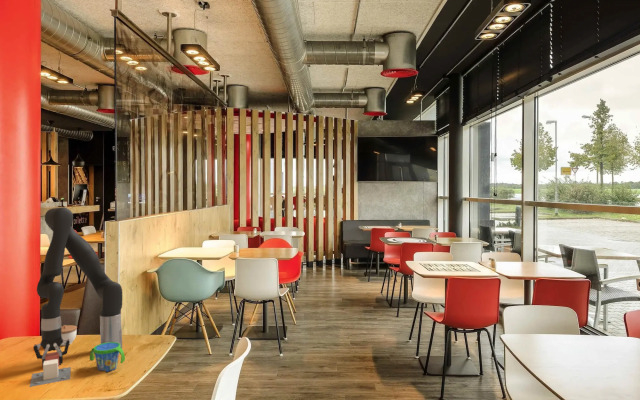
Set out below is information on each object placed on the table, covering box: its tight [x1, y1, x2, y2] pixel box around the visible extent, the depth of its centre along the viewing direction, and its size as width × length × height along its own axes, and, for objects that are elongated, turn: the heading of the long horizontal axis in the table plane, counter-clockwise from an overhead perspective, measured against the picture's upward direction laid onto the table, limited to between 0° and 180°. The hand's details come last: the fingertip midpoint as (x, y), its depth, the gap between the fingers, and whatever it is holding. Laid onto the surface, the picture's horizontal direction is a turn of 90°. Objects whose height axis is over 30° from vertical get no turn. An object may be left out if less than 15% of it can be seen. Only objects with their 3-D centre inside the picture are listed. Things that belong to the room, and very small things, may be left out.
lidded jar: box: [60, 324, 78, 347], centre depth 226 cm, size 11×11×9 cm
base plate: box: [29, 366, 72, 388], centre depth 185 cm, size 14×14×1 cm
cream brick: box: [42, 359, 59, 380], centre depth 185 cm, size 5×5×6 cm
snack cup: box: [89, 342, 126, 373], centre depth 194 cm, size 16×10×10 cm
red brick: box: [45, 351, 60, 368], centre depth 196 cm, size 5×5×6 cm
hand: (52, 365), depth 196 cm, fingers closed on red brick, 5 cm apart
